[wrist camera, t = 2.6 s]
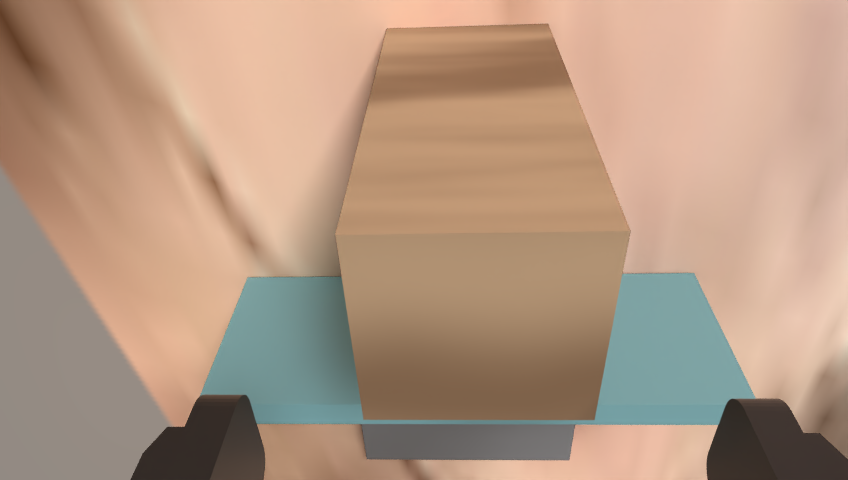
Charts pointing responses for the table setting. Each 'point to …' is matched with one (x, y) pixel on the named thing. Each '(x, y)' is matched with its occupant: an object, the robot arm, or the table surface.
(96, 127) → the table surface
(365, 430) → the dark gray upright panel
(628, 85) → the table surface
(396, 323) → the wooden block
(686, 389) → the teal board
